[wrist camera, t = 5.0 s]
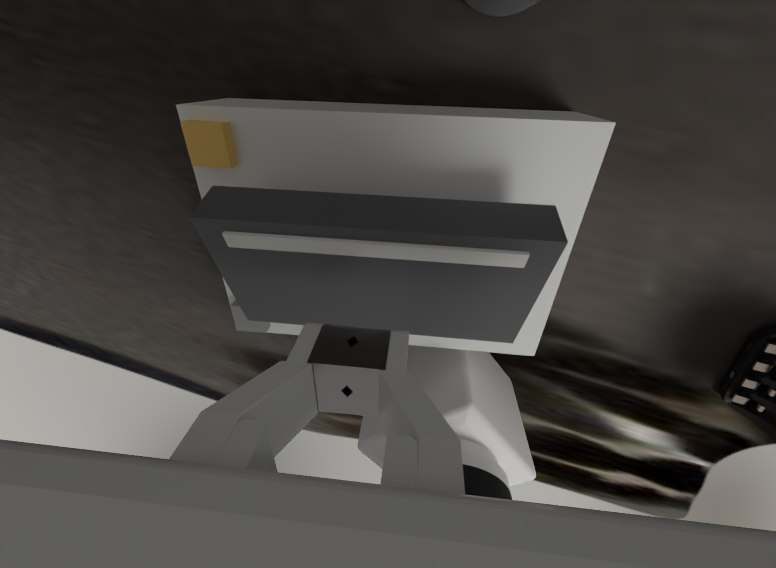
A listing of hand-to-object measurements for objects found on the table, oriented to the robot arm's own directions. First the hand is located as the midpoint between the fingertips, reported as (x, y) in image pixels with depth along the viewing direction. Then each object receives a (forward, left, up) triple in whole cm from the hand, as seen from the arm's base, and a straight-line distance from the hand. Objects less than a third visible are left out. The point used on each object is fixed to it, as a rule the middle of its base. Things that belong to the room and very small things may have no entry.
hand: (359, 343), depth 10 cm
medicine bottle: (-4, +11, -10) cm, 16 cm away
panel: (0, 0, -10) cm, 10 cm away
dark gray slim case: (0, 0, -4) cm, 4 cm away
